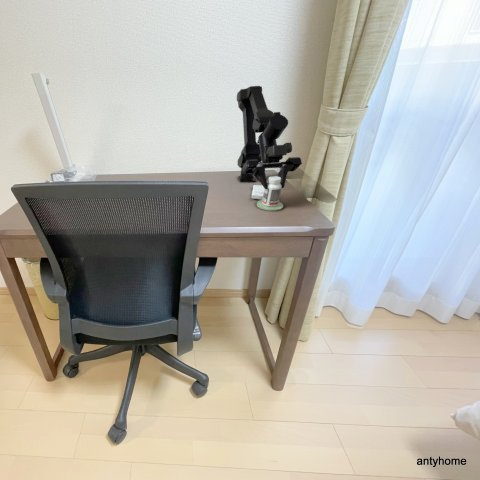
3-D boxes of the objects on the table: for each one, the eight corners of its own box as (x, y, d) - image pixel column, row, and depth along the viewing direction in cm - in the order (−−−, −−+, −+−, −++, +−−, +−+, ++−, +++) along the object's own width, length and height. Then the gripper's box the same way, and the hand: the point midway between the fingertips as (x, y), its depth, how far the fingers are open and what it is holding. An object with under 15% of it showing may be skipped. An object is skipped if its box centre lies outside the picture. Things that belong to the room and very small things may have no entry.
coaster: (254, 200, 97) (254, 199, 97) (278, 200, 96) (279, 199, 96) (259, 211, 90) (259, 209, 89) (286, 210, 89) (286, 209, 89)
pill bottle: (279, 202, 93) (284, 176, 88) (276, 208, 90) (281, 181, 84) (264, 199, 96) (268, 174, 91) (260, 205, 92) (264, 179, 87)
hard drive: (273, 190, 105) (274, 200, 95) (252, 188, 108) (251, 198, 98) (274, 186, 104) (275, 196, 94) (253, 184, 107) (251, 194, 97)
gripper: (249, 135, 84) (255, 179, 80) (306, 131, 83) (315, 176, 80) (239, 153, 95) (244, 193, 91) (290, 150, 94) (297, 190, 91)
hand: (274, 188), depth 88 cm, fingers closed on pill bottle, 5 cm apart
